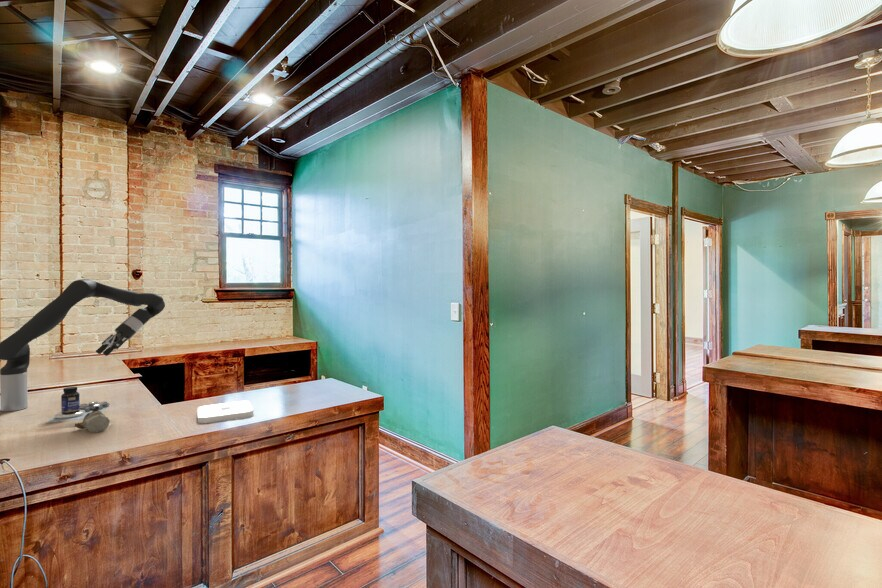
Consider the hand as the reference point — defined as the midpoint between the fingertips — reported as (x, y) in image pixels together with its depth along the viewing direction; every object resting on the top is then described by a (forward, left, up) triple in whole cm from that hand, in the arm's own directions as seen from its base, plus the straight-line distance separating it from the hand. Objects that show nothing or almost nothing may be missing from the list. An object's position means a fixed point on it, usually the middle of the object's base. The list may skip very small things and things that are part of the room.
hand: (100, 353), depth 199 cm
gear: (-3, -5, -26) cm, 26 cm away
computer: (+30, +52, -28) cm, 66 cm away
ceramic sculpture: (+30, +4, -28) cm, 41 cm away
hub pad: (+7, -10, -26) cm, 28 cm away
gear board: (+4, -7, -27) cm, 28 cm away
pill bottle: (+7, -10, -25) cm, 27 cm away
